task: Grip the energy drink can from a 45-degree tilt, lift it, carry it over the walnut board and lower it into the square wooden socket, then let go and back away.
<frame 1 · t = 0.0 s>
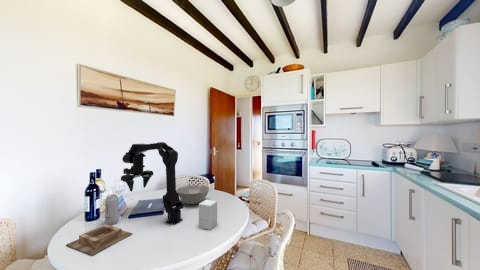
hand: (138, 189, 118), 15 cm above the table, tool pointing down, fingers open, 9 cm apart
socket board: (101, 239, 89), on the table
ceramic bowl: (193, 203, 136), on the table
energy drink can: (111, 223, 105), on the table
supplement box: (208, 226, 103), on the table
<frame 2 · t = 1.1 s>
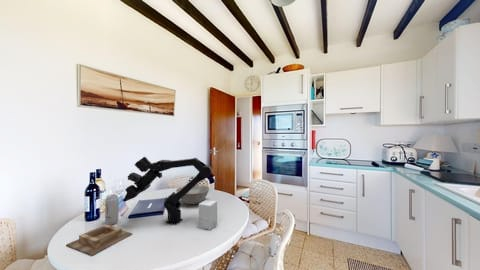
hand: (127, 198, 106), 13 cm above the table, tool tilted 45°, fingers open, 9 cm apart
nothing on the table moved.
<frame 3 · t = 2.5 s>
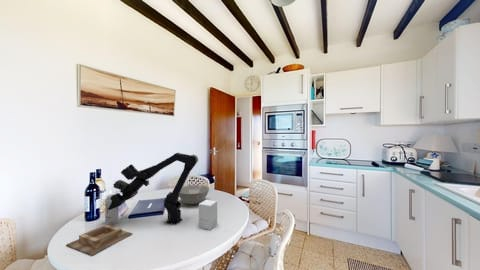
hand: (113, 206, 105), 9 cm above the table, tool tilted 45°, fingers open, 9 cm apart
nothing on the table moved.
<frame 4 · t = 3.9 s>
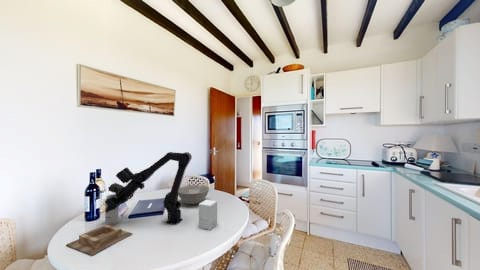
hand: (109, 209, 105), 8 cm above the table, tool tilted 45°, fingers closed on energy drink can, 6 cm apart
energy drink can: (111, 223, 105), on the table, touching gripper
everything else where it was.
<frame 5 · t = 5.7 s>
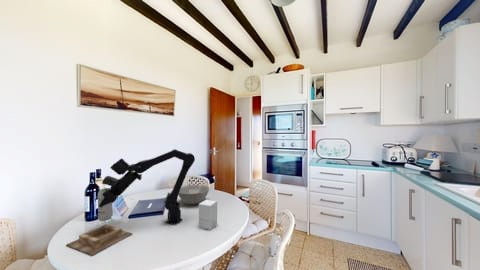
hand: (102, 204, 97), 13 cm above the table, tool tilted 45°, fingers closed on energy drink can, 6 cm apart
energy drink can: (105, 219, 98), point 5 cm above the table, touching gripper
everything else where it was.
when the fingers open (9 cm above the table, at t = 7.8 s): energy drink can drops 1 cm, resting on socket board.
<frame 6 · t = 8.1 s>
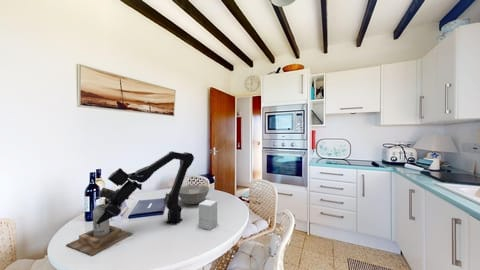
hand: (97, 219, 88), 10 cm above the table, tool tilted 45°, fingers open, 9 cm apart
energy drink can: (101, 238, 89), resting on socket board
everything else where it was.
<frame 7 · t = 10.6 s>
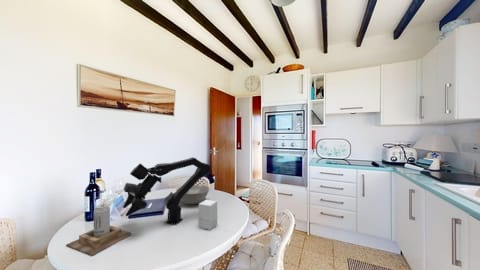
hand: (124, 211, 96), 10 cm above the table, tool tilted 40°, fingers open, 9 cm apart
nothing on the table moved.
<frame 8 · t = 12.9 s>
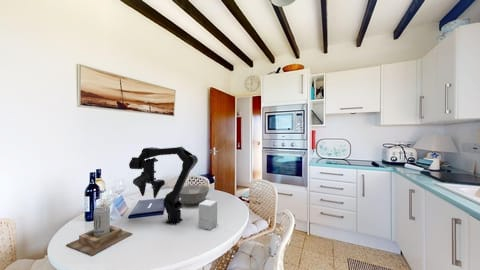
hand: (148, 196, 109), 13 cm above the table, tool pointing down, fingers open, 9 cm apart
nothing on the table moved.
at the end: energy drink can 0.3 cm from the socket board (horizontally); energy drink can resting on socket board; energy drink can tilted 0° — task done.
